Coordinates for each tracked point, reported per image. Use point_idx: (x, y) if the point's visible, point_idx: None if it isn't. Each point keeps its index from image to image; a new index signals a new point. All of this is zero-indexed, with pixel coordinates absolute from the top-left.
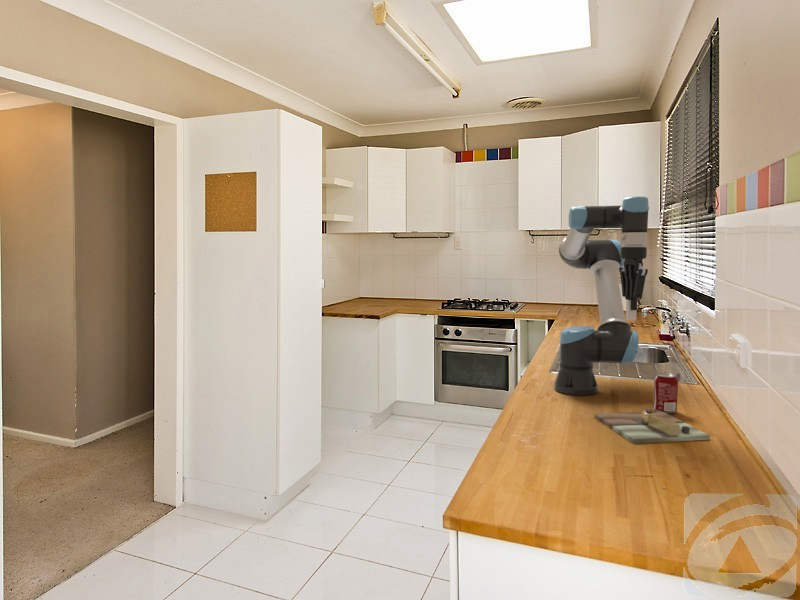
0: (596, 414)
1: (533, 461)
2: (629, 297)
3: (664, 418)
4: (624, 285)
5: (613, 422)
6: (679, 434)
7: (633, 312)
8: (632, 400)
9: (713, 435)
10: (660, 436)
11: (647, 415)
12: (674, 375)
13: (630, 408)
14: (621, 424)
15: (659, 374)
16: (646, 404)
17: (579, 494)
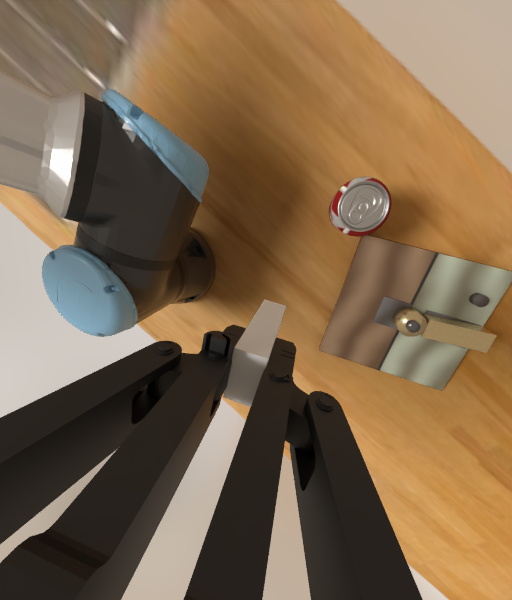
0: (323, 350)
1: (408, 506)
2: (222, 392)
3: (454, 329)
4: (99, 456)
5: (367, 357)
6: (475, 315)
7: (276, 336)
8: (268, 213)
9: (502, 244)
10: (460, 349)
11: (417, 334)
12: (374, 184)
13: (306, 257)
14: (381, 355)
15: (342, 211)
16: (300, 207)
17: (508, 533)
